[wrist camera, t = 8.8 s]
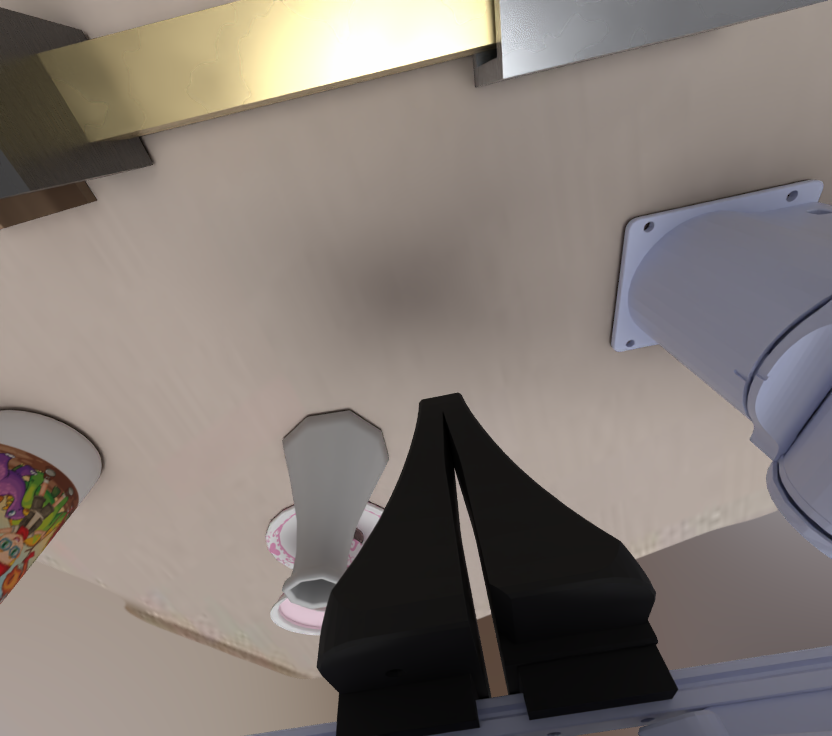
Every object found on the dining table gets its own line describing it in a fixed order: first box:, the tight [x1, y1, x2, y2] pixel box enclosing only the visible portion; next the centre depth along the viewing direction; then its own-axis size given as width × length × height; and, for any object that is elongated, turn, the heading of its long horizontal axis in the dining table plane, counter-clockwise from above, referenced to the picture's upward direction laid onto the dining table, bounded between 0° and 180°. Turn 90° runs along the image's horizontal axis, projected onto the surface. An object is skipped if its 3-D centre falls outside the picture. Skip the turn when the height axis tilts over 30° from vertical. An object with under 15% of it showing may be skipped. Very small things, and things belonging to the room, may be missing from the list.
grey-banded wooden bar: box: [0, 0, 497, 199], centre depth 12 cm, size 20×4×7 cm, turn 101°
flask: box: [282, 410, 389, 609], centre depth 23 cm, size 7×7×10 cm
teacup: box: [265, 502, 384, 635], centre depth 31 cm, size 12×12×6 cm
